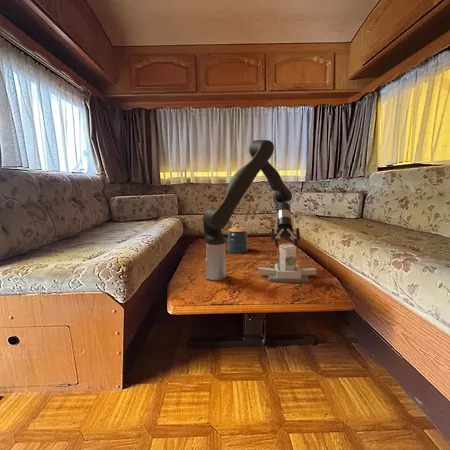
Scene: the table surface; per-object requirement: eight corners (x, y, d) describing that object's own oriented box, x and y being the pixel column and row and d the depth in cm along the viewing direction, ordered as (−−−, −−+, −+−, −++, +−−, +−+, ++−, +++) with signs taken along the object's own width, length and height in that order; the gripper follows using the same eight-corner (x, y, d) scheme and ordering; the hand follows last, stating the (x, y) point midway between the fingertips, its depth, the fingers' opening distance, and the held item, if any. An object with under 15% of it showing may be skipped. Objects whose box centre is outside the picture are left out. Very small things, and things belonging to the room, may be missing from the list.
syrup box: (288, 271, 138) (289, 242, 135) (295, 275, 132) (296, 245, 130) (278, 273, 136) (278, 244, 133) (285, 277, 130) (285, 247, 128)
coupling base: (258, 281, 129) (258, 271, 128) (258, 272, 141) (258, 263, 140) (319, 282, 127) (319, 272, 126) (313, 273, 138) (314, 263, 138)
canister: (239, 247, 191) (238, 222, 188) (251, 251, 181) (251, 224, 178) (223, 250, 184) (223, 224, 181) (236, 255, 173) (235, 227, 170)
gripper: (270, 216, 145) (272, 242, 136) (298, 215, 144) (302, 243, 135) (270, 224, 151) (271, 250, 142) (297, 224, 150) (299, 250, 141)
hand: (286, 246), depth 138 cm, fingers open, 8 cm apart
